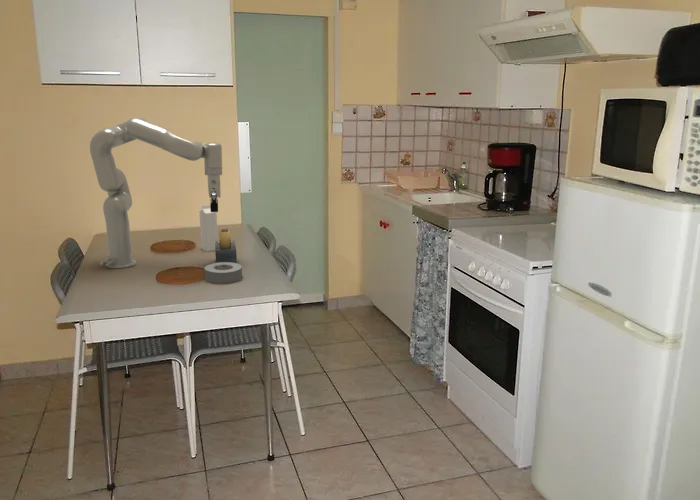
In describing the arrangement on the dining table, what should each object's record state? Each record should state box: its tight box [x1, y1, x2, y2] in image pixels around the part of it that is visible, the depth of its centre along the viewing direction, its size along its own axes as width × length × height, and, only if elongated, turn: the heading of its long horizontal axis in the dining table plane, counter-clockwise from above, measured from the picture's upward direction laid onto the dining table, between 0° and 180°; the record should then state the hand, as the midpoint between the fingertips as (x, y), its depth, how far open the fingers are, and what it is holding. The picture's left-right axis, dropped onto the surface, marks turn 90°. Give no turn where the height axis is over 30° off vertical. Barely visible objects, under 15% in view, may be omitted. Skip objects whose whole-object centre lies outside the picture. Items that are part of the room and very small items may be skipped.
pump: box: [218, 228, 232, 248], centre depth 268 cm, size 5×5×8 cm
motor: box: [214, 238, 238, 264], centre depth 271 cm, size 17×9×11 cm, turn 13°
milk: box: [199, 204, 219, 252], centre depth 293 cm, size 6×6×22 cm
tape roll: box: [204, 262, 243, 285], centre depth 249 cm, size 15×15×5 cm
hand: (214, 209), depth 266 cm, fingers open, 9 cm apart
